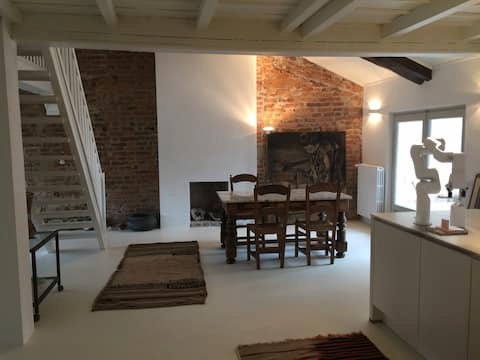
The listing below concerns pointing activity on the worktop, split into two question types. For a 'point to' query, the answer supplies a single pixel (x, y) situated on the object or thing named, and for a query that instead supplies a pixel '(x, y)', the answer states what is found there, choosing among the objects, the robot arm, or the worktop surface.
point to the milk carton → (457, 214)
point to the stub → (445, 226)
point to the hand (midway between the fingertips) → (456, 197)
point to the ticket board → (440, 232)
